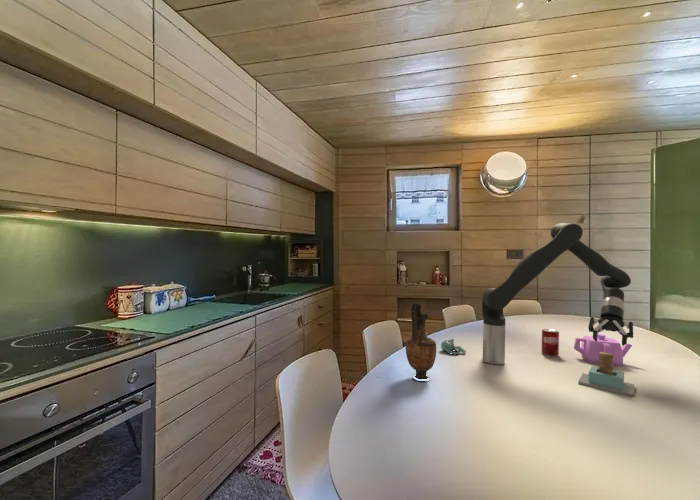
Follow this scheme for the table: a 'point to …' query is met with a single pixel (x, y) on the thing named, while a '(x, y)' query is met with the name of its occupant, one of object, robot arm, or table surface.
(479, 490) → the table surface
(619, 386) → the teal and grey socket
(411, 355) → the vase
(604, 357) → the block
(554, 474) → the table surface
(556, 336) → the soda can
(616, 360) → the teakettle
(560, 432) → the table surface
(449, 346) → the stuffed animal
